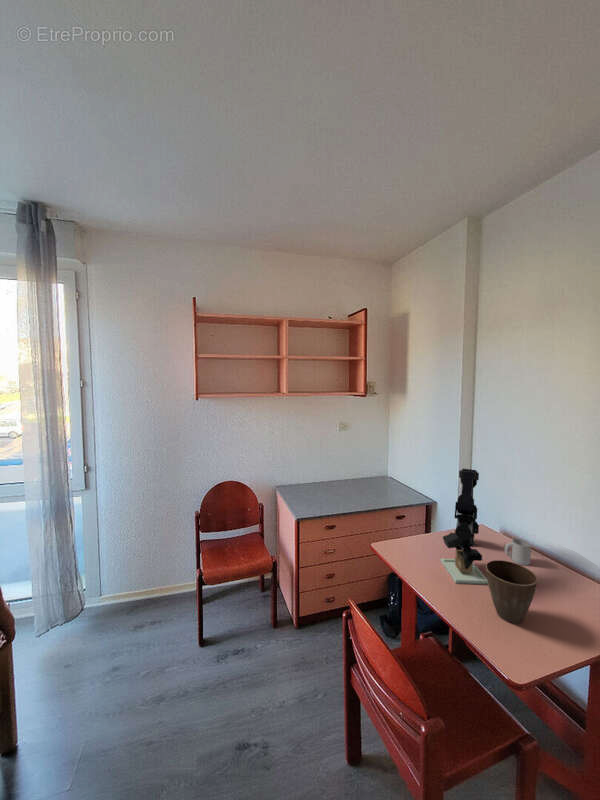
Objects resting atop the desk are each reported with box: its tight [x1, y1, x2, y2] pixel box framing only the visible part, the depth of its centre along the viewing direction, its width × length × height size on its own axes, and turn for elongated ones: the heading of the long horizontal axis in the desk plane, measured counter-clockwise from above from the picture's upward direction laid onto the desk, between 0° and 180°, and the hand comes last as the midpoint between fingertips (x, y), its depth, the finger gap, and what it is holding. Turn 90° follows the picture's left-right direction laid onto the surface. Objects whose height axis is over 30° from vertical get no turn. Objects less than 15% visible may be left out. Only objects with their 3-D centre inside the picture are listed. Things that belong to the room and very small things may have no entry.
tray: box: [440, 558, 489, 586], centre depth 140 cm, size 16×13×2 cm
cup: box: [504, 538, 532, 566], centre depth 149 cm, size 7×10×9 cm
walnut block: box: [454, 549, 474, 572], centre depth 139 cm, size 5×5×7 cm
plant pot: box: [485, 559, 538, 624], centre depth 113 cm, size 15×15×16 cm
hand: (463, 565), depth 140 cm, fingers closed on walnut block, 5 cm apart
